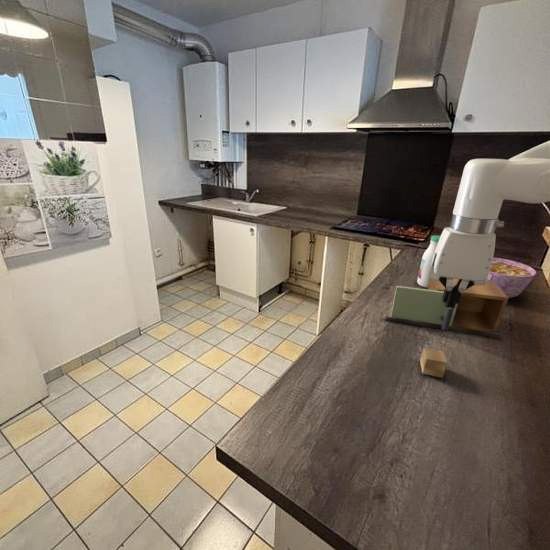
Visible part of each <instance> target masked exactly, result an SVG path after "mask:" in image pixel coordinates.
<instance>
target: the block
mask: <svg viewBox="0 0 550 550" xmlns="http://www.w3.org/2000/svg"><path fill="white" fill-rule="evenodd" d="M419 363H420V369H421V374H422V375H427V376H432V377H437V378H444V376H445V373H446V369H447V365H448V361H447V357H446V355H445V352H444V350H438V349H433V348H427V347H423V349H422V352H421V357H420V360H419Z"/></svg>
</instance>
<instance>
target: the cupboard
mask: <svg viewBox="0 0 550 550" xmlns="http://www.w3.org/2000/svg"><path fill="white" fill-rule="evenodd" d="M457 281H458V279H455V278H453V287H454V286H455V285H456V283H457ZM426 289H427V290H435V291H443V292H444V289H445V287H444V286H443V285H442V283H441V282H440V281H436V280H433V279H431V278H430V281H429V285H428V288H426ZM509 299H510V298H508V296H507V295H506V294H505V293H504V292H503V291H502V290H501V289H500V288H499V287H498V286H497V284H496V283H495V282H494V281H487V280H486V284H485V285H479V286H472V287H470V288H468V289H466V290H465V291H464V292H463V293H461V296H460V300H459V303H458V305H457V308H456V312H455V316H454V319H453V323H452V326H449V328H448V330H447V331H452V332H458V333H463V334H464V333H466V334H472V335H477V336H478V335H479V336H485V337H491V338H496V339H497V338H498V339H499V338H500V337H501V334H500V333H499V332H498V330H499V326H500V323H501V321H502V318H503V315H504V312H505V309H506V306H507V304H508V301H509ZM385 321H388V322H394V323H401V324H407V325H414V326H420V327H427V328H433V329H438V330H443V329H442V325H440V324H434V323H427V322H421V321H414V320H408V319H401V318H395V317H391V316H388V315H385Z"/></svg>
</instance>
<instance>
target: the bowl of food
mask: <svg viewBox="0 0 550 550" xmlns="http://www.w3.org/2000/svg"><path fill="white" fill-rule="evenodd" d="M536 274H537V271H536V270H535V269H534V268H532V267H531V266H529V265H527V264H524V263H522V262H518V261H515V260H510V259H506V258H501V257H494V256H493V260H492V265H491V269H490V272H489V275H488V277H487V278H486V280H487V281H494V282H495V283H496V284H497V286H498V287H499V288H500V289H501V290H502V291H503V292H504V293H505V294H506V295H507V296H508V298H509V299H512V298H515V297H517V296H519V295H521V294H522V293H523V292H524V291H525V289H526V288H527V287H528V285H529V284H530V283H531V281H532V280H533V279H534V277H535V276H536Z"/></svg>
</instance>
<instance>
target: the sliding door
mask: <svg viewBox="0 0 550 550" xmlns="http://www.w3.org/2000/svg"><path fill="white" fill-rule="evenodd" d="M427 289H428V288H419V287H411V286H402V285H396V287H395V292H394V297H393V303H392V308H391V312H390V317H395V318H401V319H408V320H414V321H421V322H427V323H434V324H440V325H442V329H441V330H443V331H449V330H448V328H449V326H452V323H453V319H454V316H455V312H456V308H457V305H458V304H456V305H455V308H451V307H449V308H447V307H446V306H445V304H444V302H443V301H442V296H443V293H444V292H443V291H435V290H427Z"/></svg>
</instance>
